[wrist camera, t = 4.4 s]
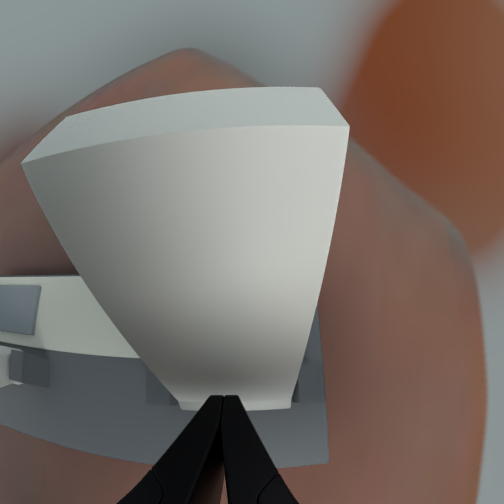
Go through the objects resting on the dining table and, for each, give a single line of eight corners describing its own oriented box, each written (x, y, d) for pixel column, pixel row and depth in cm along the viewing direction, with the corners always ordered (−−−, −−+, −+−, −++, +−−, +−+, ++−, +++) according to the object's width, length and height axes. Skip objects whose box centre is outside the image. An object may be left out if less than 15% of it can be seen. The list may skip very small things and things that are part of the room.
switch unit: (317, 452, 14) (341, 473, 9) (1, 415, 14) (-51, 407, 9) (304, 285, 18) (319, 242, 14) (13, 290, 19) (-31, 261, 14)
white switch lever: (288, 412, 12) (355, 134, 3) (187, 414, 12) (13, 172, 3) (285, 371, 13) (317, 84, 4) (189, 374, 13) (71, 112, 4)
